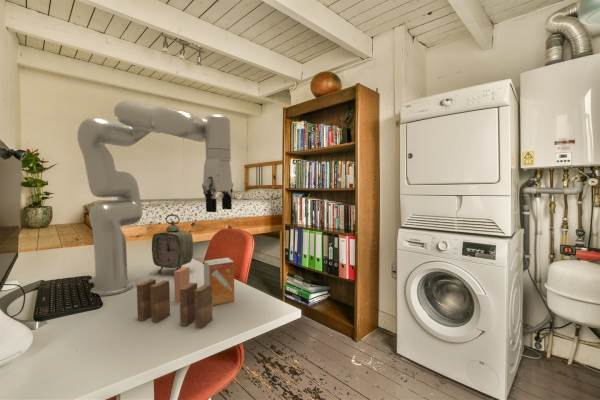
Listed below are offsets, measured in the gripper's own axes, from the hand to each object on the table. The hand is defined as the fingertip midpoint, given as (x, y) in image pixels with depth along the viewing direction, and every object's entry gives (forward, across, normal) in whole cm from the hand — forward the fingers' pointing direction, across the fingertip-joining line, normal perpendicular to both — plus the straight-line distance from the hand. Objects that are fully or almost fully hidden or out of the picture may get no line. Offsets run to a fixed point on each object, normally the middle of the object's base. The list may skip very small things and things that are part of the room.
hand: (219, 210), depth 91 cm
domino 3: (+29, +2, -13) cm, 32 cm away
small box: (+30, 0, -1) cm, 30 cm away
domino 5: (+29, +15, +3) cm, 33 cm away
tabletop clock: (+29, -22, -34) cm, 50 cm away
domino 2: (+29, +15, -11) cm, 34 cm away
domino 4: (+29, +15, -2) cm, 33 cm away
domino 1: (+29, +15, -15) cm, 36 cm away
